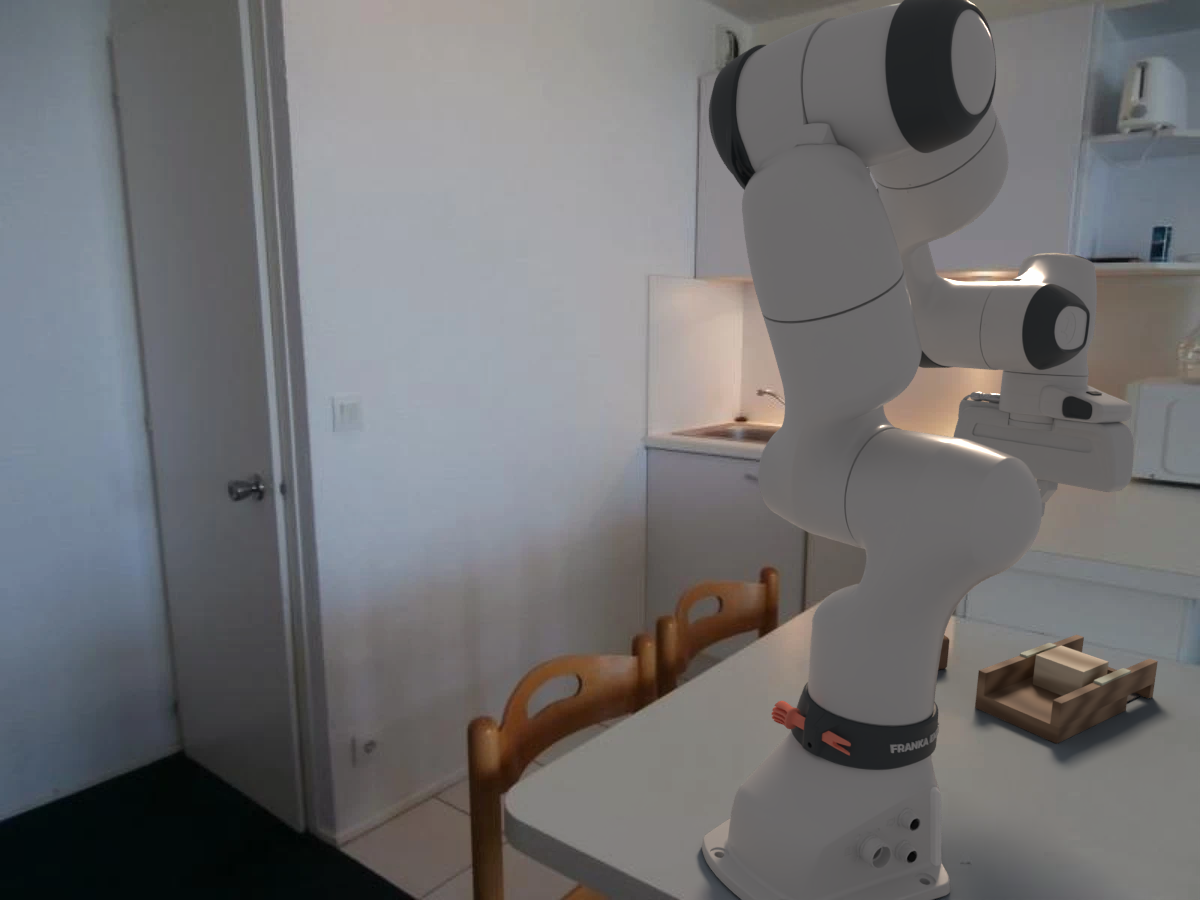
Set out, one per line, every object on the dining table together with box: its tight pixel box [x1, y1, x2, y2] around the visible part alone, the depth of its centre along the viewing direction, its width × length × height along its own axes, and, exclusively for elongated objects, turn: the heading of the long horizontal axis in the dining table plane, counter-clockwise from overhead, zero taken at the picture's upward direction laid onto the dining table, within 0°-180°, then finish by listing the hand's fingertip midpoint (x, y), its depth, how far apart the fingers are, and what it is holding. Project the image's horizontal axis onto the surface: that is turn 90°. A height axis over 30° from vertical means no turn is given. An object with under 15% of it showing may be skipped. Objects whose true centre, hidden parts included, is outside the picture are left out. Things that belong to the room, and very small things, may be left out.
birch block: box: [1033, 645, 1109, 696], centre depth 108 cm, size 6×6×4 cm
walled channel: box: [974, 634, 1159, 744], centre depth 108 cm, size 23×10×5 cm, turn 123°
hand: (1027, 514), depth 100 cm, fingers closed
